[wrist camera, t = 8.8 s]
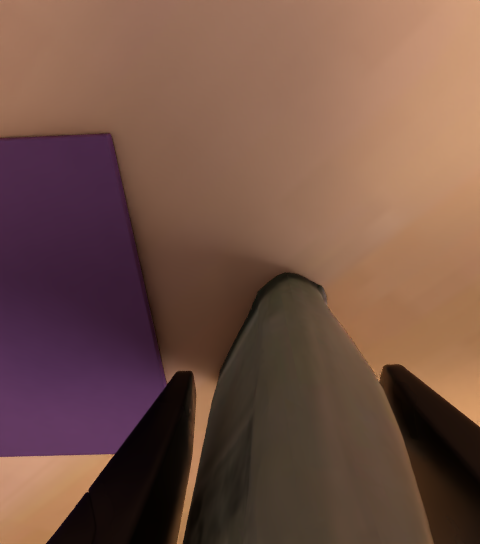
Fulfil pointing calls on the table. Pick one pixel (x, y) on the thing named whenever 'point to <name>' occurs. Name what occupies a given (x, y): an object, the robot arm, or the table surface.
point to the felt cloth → (70, 301)
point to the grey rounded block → (302, 437)
